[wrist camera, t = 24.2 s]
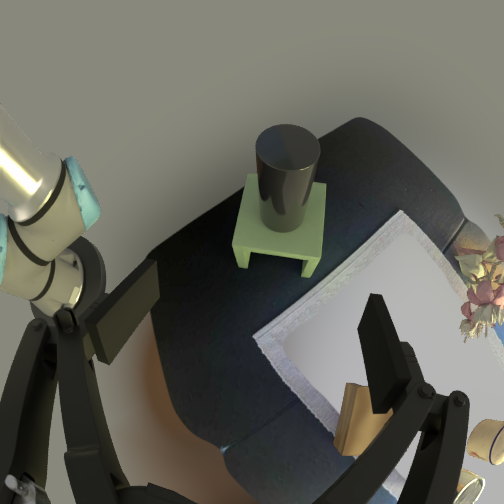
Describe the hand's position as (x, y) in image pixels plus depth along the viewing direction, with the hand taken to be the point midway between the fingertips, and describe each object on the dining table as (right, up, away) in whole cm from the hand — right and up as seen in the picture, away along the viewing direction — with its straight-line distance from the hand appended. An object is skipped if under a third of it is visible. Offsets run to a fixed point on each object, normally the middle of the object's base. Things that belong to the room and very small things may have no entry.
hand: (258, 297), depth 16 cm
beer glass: (+32, -39, +15) cm, 53 cm away
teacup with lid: (+48, -36, +15) cm, 62 cm away
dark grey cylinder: (+4, +8, +23) cm, 24 cm away
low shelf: (+19, -24, +20) cm, 37 cm away
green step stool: (+4, +5, +32) cm, 33 cm away
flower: (+42, -7, +26) cm, 50 cm away
